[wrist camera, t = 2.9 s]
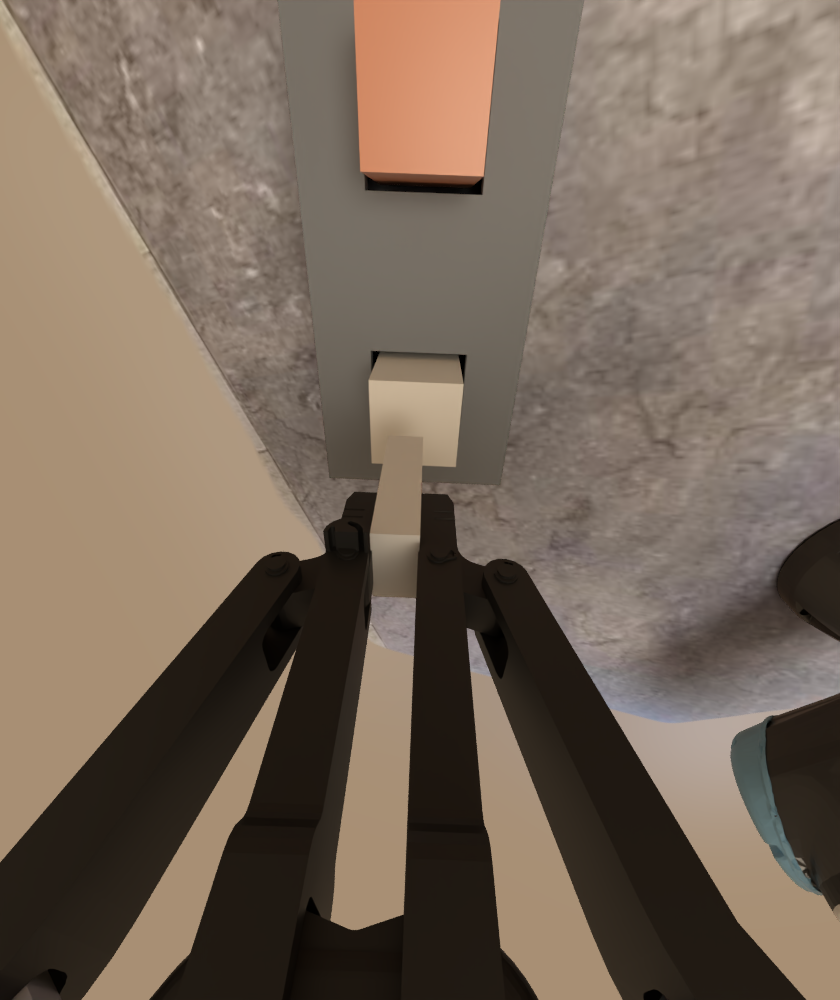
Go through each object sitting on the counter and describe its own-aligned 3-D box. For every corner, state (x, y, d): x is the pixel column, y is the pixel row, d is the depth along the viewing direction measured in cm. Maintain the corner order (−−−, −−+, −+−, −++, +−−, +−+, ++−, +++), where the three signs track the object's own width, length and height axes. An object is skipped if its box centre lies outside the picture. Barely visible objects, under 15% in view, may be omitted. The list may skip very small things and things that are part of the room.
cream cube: (451, 417, 29) (455, 467, 23) (384, 415, 29) (371, 463, 23) (457, 348, 26) (463, 384, 20) (382, 345, 26) (368, 380, 20)
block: (487, 435, 35) (500, 485, 28) (349, 429, 35) (329, 477, 29) (550, -9, 21) (603, -114, 14) (317, -17, 21) (263, -127, 14)
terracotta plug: (470, 188, 22) (483, 176, 16) (380, 184, 22) (360, 171, 16) (481, 57, 19) (501, -15, 13) (377, 53, 19) (352, -20, 13)
